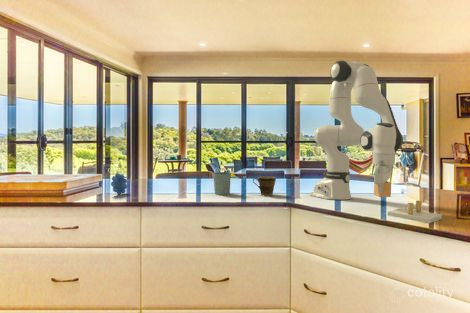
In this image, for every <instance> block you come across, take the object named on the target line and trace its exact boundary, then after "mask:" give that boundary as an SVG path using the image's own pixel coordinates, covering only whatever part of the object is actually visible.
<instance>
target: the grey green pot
mask: <svg viewBox="0 0 470 313" xmlns="http://www.w3.org/2000/svg"><path fill="white" fill-rule="evenodd" d="M212 176H213V187H214V194H215V195H216V196H217V195H218V196H228V195H230V194H231V176H232V173H231V172H230V171H229V172H227V171H225V172H224V171H223V172H222V171H220V172H219V171H217V172H212Z"/></svg>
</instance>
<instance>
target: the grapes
mask: <svg viewBox="0 0 470 313" xmlns="http://www.w3.org/2000/svg"><path fill="white" fill-rule="evenodd" d="M111 180H112V181H111V183H110V185H111V187H112V191H113V192H114V193H116V194H117V195H118V196H119V195H121V194H125V193H126V189H128V185H127V183H128V179H127V178H125V175H124V174H123V173H121V174H120V173H119V172H117V173H116V174H115V175H114V176H112V177H111Z"/></svg>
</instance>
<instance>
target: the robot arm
mask: <svg viewBox="0 0 470 313" xmlns="http://www.w3.org/2000/svg"><path fill="white" fill-rule="evenodd" d="M329 72H330V78H331V79H332V80H333V81H332V83H331V86H330V92H329V102H328V103H329V106H328V109H329V110H328V112H329V116H331V117H332V118H333V119H336V120H337V121H340V125H339V124H338V125H337V124H336V125H335V124H334V125H330V124H329V125H322V126H319V127H317V128H316V129H315V131H314V135H313V137H314V141H315V142H316V144H318V145H319V146H320V147H321V148H322V150H324V152H325V154H326V159H327V170H326V171H324V172H323V175H324V177H323V178H322V179H321V180H319V181H318V182H317V183H315V184H314V187H313V192H309V194H308V195H309V196H311V197H317V198H319V199H326V200H341V201H343V200H351V199H352V194H351V190H350V188H351V187H350V181H351V180H350V179H351V172H350V157H349V156H348V155H347V153H345V152H342V151H340V150H339V149H338V147H341V146H342V147H343V146H344V147H351V146H359V145H360V146H361V148H362V149H363V150H364V151H368V152H372V160H371V162H372V165H375V166H374V175H373V176H374V177H373V182H374V183H375V184H377V186H378V193H383V184H384V183H385V182H386V181H387V182H388V181H389V179H390V178H391V176H392V171H393V166H394V165H395V163H396V162H395V161H396V152H397V151H399V149H401V147H402V146H403V144H404V138H403V135H402V133H401V131H400V129H399V127H398V124H397V121H396V118H395V114H394V113H393V110H392V107H391V105H390V102H389V100H388V99H387V98H386V97H385V96H383V94H382V92H381V90H380V88H379V82H378V78H377V74H376V71H375V70H374V68H373V67H371V66H370V65H369V64H366V63H361V62H358V61H347V60H338V61H335V62H334V63H333V64H332V65H331V68H330V71H329ZM352 90H353V94H354V100H355V101H356V103H357V104H358V105H360V106H361V107H363V108H364V109H369V110H371V111H374V112H375V113H377V114H378V115H379V116H380V119H381V122H377V123H375V125H374V126H373V127H372V128H370V129H369V130H364V128H363V127H362V126H361V125H359V124H358V123H357V122H356V121H355V119H354V117H353V114H352Z"/></svg>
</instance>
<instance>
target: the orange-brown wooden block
mask: <svg viewBox="0 0 470 313" xmlns="http://www.w3.org/2000/svg"><path fill="white" fill-rule="evenodd" d="M373 186H374V187H373V195H374V196H377V197H378V198H391V197H392V196H391V194H392V182H390V181H388V180H387V181H386V182H385V183H384V184H383V193H378V186H377V184H375V183H374V185H373Z"/></svg>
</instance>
